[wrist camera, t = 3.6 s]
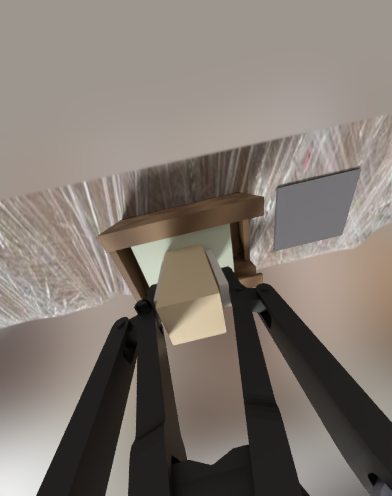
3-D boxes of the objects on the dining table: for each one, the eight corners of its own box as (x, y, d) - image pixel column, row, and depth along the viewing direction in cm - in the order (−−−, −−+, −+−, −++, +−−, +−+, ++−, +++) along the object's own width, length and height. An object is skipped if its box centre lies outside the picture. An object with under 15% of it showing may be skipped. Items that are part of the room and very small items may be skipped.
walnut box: (150, 283, 26) (141, 314, 20) (121, 219, 21) (96, 236, 14) (242, 260, 26) (262, 285, 20) (238, 192, 21) (263, 196, 15)
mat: (273, 250, 26) (274, 251, 26) (276, 188, 21) (278, 188, 21) (339, 234, 26) (341, 235, 26) (358, 168, 21) (361, 168, 21)
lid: (156, 295, 21) (141, 371, 13) (129, 235, 17) (78, 291, 8) (232, 276, 21) (269, 340, 13) (226, 212, 17) (274, 245, 8)
